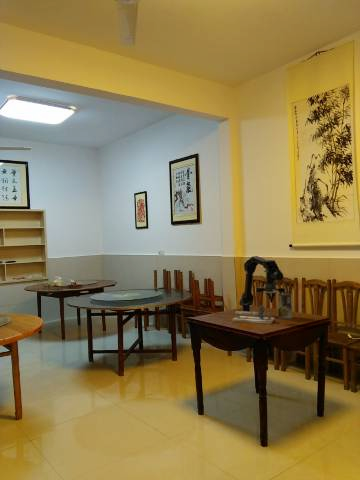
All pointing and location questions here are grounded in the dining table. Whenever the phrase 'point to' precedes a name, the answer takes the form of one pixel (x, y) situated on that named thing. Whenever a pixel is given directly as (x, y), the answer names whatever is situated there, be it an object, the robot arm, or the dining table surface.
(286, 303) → the coffee box
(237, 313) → the pipe stand
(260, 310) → the dark angular block
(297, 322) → the dining table surface
